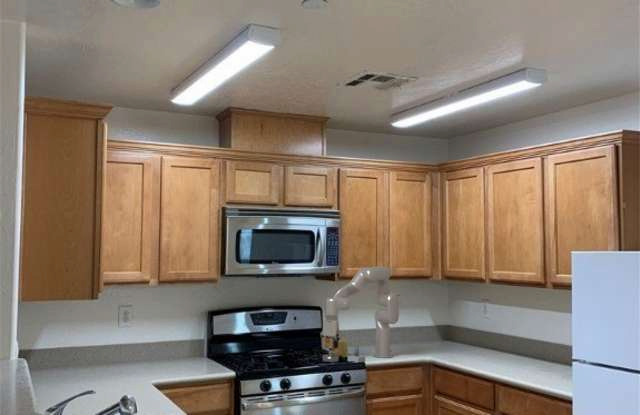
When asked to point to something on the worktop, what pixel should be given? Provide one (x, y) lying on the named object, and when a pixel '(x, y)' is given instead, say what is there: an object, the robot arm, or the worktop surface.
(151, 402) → the worktop surface
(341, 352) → the cheese
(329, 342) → the brown box
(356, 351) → the stand
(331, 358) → the hub
